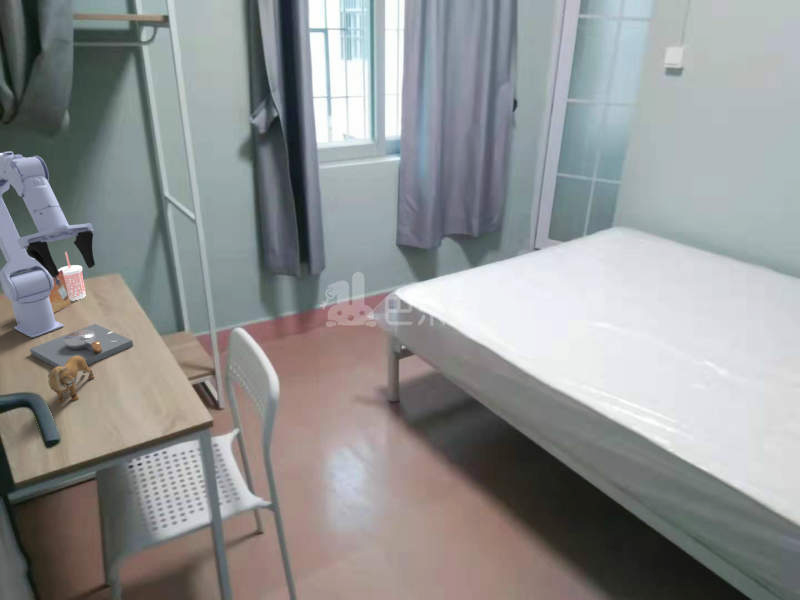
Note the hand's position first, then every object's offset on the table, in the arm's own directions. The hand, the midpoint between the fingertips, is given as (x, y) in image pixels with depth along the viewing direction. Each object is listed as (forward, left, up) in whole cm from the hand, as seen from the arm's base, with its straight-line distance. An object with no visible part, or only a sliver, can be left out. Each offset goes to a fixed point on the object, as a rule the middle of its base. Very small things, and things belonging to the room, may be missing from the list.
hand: (74, 271), depth 121 cm
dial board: (-9, +2, -23) cm, 25 cm away
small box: (-39, +10, -23) cm, 46 cm away
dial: (-7, +2, -21) cm, 22 cm away
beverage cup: (-41, +18, -23) cm, 50 cm away
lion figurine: (+8, -9, -23) cm, 26 cm away
